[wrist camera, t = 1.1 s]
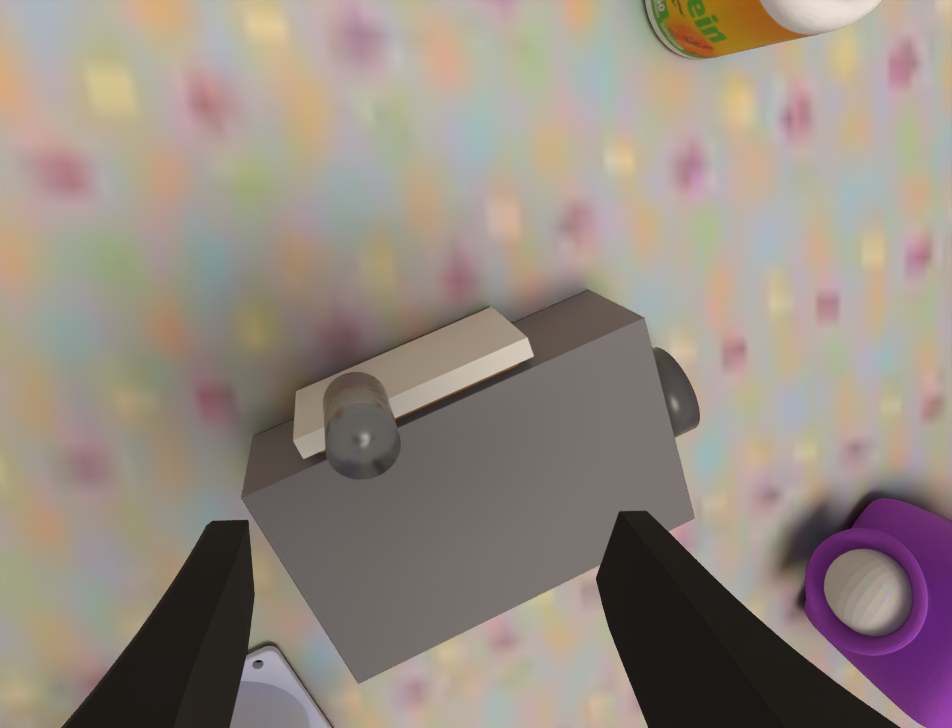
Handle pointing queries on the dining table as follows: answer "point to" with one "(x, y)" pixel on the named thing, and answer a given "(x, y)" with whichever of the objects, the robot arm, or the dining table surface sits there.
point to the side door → (399, 391)
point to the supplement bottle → (746, 22)
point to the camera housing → (483, 488)
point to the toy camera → (890, 604)
